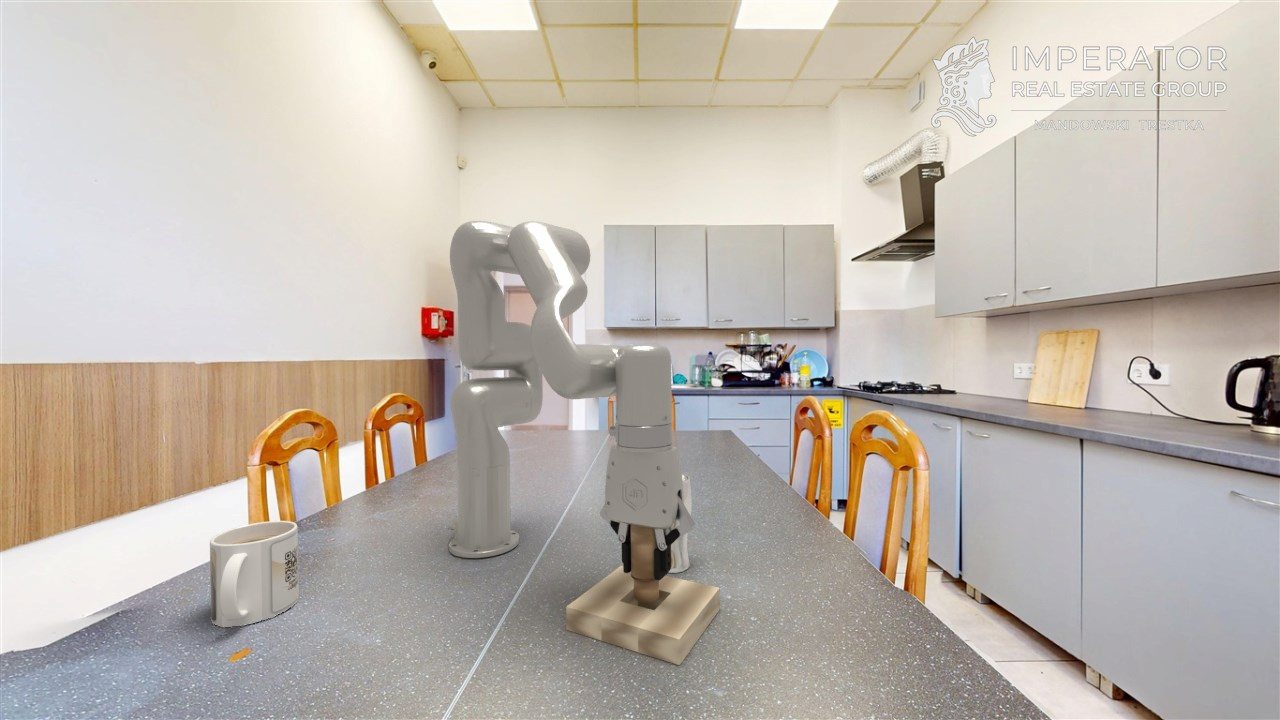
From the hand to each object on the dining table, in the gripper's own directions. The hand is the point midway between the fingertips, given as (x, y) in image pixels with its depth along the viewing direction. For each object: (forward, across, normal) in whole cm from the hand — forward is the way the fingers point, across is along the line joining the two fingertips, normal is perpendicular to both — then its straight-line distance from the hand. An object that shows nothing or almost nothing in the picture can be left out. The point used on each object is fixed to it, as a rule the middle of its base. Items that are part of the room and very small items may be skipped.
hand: (646, 571), depth 66 cm
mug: (+6, -50, -24) cm, 56 cm away
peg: (+3, 0, 0) cm, 3 cm away
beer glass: (+7, -4, +17) cm, 19 cm away
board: (+6, 0, 0) cm, 6 cm away
